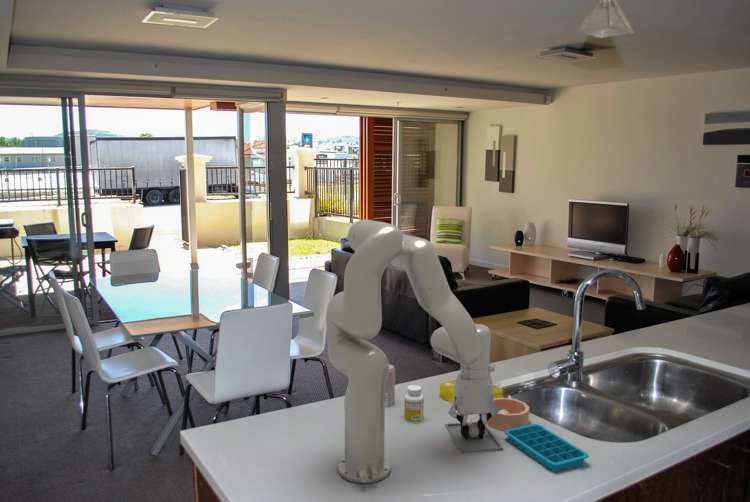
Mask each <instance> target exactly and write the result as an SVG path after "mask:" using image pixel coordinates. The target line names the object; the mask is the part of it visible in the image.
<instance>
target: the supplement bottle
mask: <svg viewBox="0 0 750 502" xmlns="http://www.w3.org/2000/svg"><path fill="white" fill-rule="evenodd" d="M406 389H407V390H406V391H407V392H406V393H405V395H404V421H406V422H408V423H415V424H416V423H420V422H421V423H422V421H423V420H424V399H425V398H424V395H423V394H422V387H421V386H420V385H417V384H412V385H411V384H410V385H409V386H407V388H406Z"/></svg>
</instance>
